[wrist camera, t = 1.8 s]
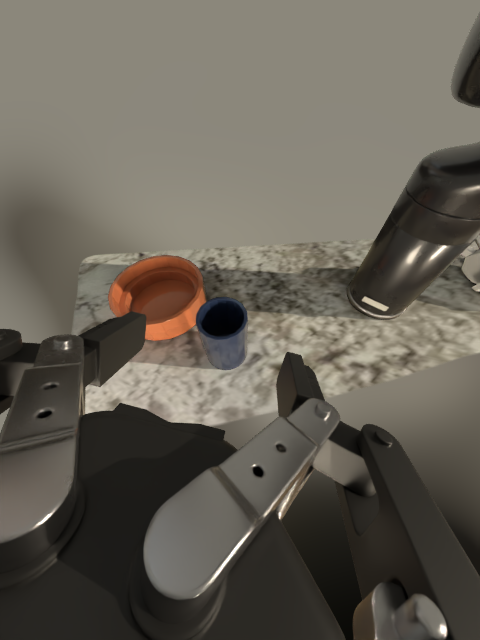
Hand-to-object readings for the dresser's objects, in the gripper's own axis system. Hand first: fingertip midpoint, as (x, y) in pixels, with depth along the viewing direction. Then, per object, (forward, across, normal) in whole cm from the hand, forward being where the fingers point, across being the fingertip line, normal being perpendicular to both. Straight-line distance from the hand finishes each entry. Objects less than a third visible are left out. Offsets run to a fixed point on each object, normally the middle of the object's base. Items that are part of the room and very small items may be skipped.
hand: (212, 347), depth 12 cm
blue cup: (+18, 0, +10) cm, 21 cm away
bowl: (+24, +12, +8) cm, 29 cm away
